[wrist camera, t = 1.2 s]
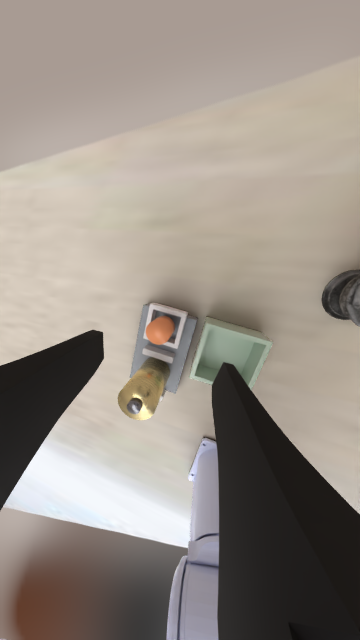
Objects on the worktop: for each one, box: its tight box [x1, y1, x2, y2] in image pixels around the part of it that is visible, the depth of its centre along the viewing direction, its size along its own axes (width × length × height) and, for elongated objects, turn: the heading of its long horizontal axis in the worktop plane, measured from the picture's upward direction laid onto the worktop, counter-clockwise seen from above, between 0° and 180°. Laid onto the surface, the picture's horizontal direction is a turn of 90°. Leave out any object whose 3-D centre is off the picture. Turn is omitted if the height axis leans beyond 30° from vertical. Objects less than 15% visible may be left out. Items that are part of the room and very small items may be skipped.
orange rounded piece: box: [146, 316, 175, 345], centre depth 17 cm, size 3×3×2 cm
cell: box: [118, 357, 170, 420], centre depth 18 cm, size 4×4×7 cm
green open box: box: [189, 316, 273, 390], centre depth 18 cm, size 7×7×4 cm
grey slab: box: [130, 303, 198, 401], centre depth 20 cm, size 13×7×3 cm, turn 166°
